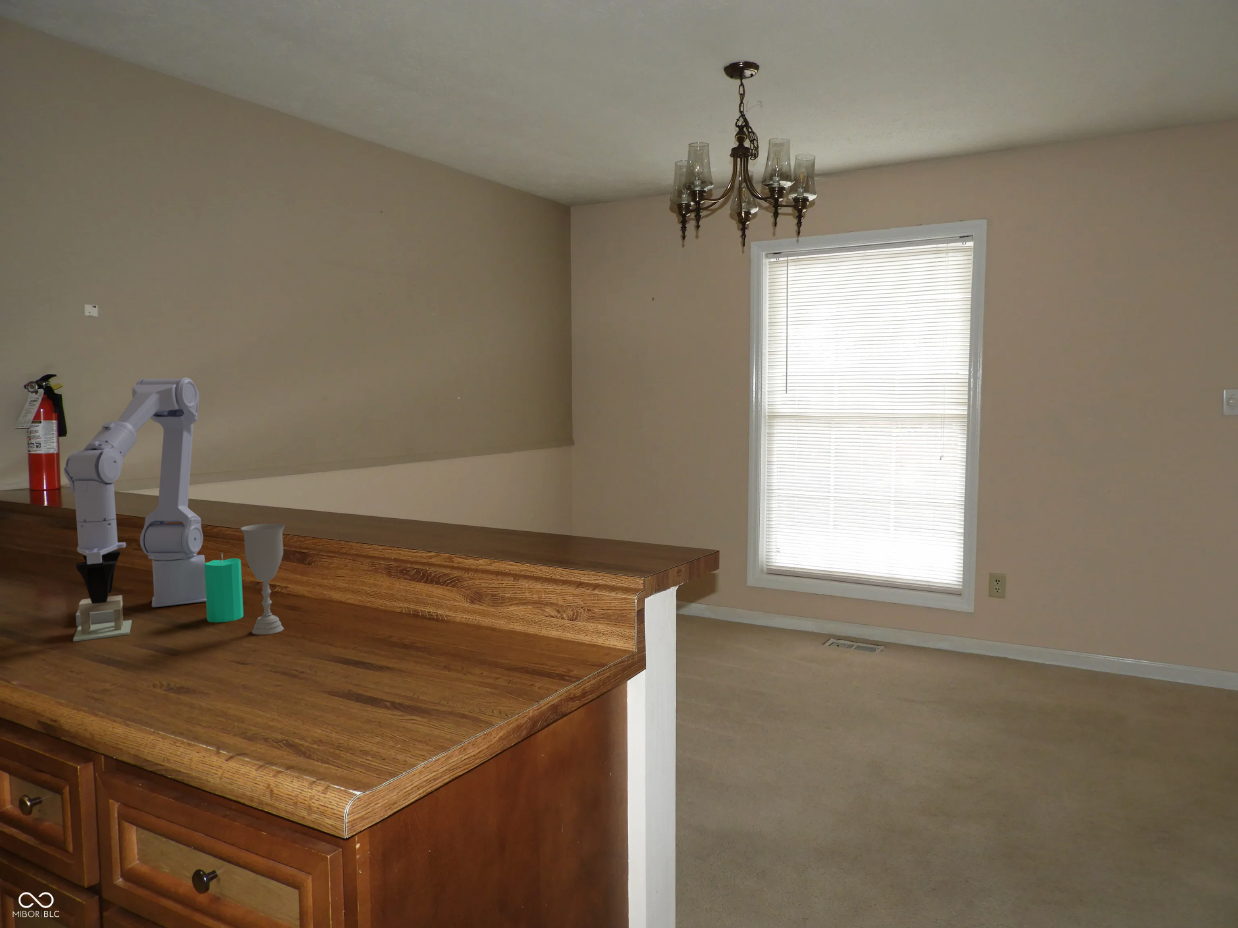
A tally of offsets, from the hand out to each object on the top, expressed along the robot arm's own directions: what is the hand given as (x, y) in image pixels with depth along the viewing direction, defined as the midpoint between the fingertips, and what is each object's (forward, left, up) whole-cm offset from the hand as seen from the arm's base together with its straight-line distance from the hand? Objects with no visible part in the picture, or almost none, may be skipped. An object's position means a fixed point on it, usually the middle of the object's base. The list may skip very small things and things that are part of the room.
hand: (101, 597), depth 142 cm
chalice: (-25, +14, -6) cm, 29 cm away
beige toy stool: (0, 0, -6) cm, 6 cm away
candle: (-19, +1, -6) cm, 20 cm away
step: (+2, -10, -6) cm, 12 cm away
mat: (0, 0, -6) cm, 6 cm away
